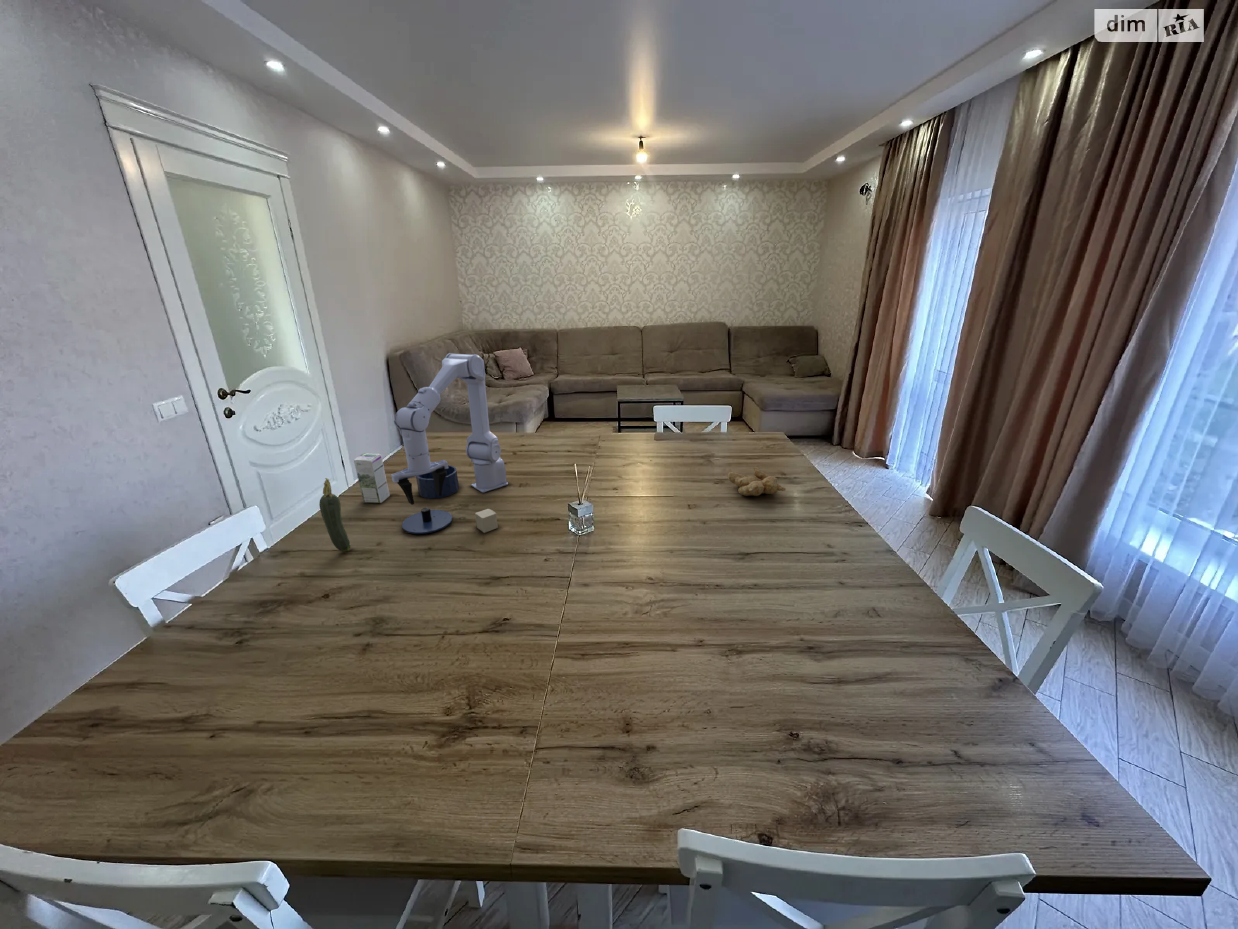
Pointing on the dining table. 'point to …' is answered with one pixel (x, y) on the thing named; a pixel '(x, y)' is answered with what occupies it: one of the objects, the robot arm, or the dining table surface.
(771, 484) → the ginger root
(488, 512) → the block
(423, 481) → the pot
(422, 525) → the lid
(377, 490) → the syrup box
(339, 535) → the vegetable
